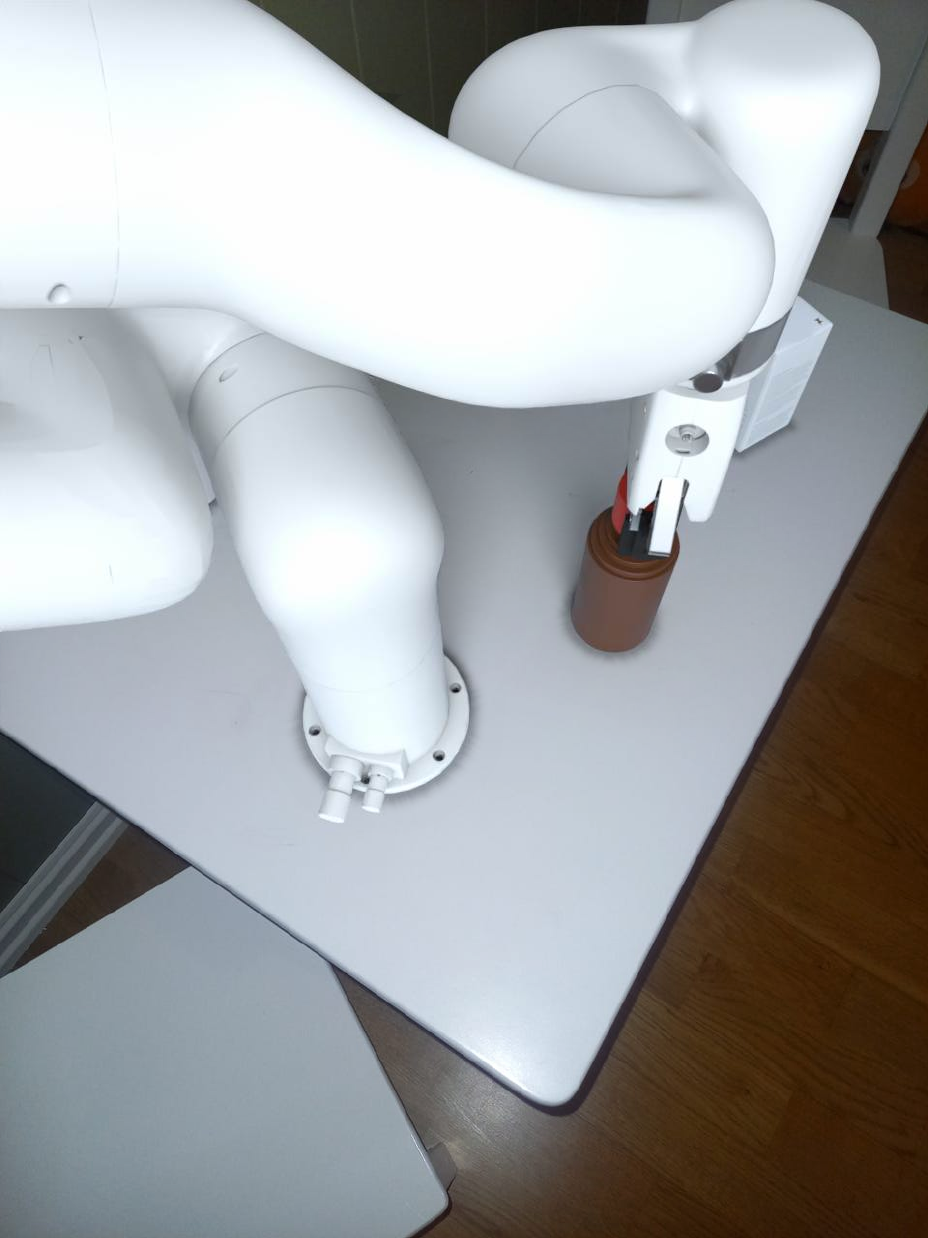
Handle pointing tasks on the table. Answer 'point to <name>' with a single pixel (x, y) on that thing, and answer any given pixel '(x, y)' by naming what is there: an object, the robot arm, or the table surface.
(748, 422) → the cosmetic box
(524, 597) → the table surface
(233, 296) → the robot arm
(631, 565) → the sauce bottle
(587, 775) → the table surface
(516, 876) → the table surface
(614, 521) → the cap
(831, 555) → the table surface
